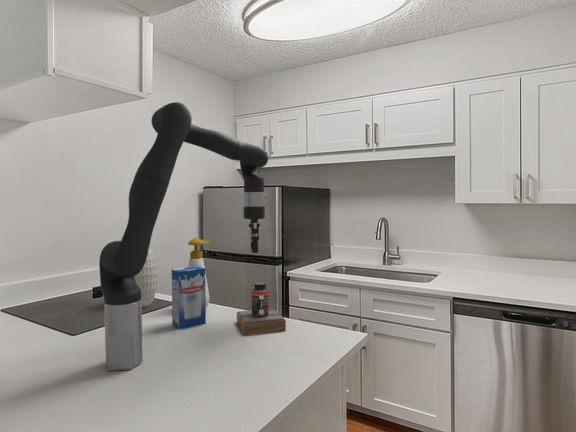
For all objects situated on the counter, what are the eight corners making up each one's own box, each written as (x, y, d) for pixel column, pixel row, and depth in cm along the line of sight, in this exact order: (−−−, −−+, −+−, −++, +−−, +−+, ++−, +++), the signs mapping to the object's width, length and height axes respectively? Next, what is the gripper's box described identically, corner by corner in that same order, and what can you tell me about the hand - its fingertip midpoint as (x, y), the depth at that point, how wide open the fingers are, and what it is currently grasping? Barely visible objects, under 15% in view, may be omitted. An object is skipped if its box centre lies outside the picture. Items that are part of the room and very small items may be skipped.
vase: (131, 311, 149) (130, 241, 148) (122, 304, 159) (121, 238, 158) (163, 305, 157) (162, 238, 156) (152, 299, 167) (151, 236, 166)
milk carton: (179, 329, 128) (178, 271, 127) (172, 325, 133) (171, 269, 132) (206, 323, 135) (205, 268, 134) (198, 319, 139) (197, 266, 139)
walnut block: (285, 330, 127) (285, 318, 127) (245, 335, 123) (245, 323, 123) (273, 318, 141) (273, 307, 140) (236, 322, 136) (236, 311, 136)
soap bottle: (219, 310, 151) (218, 238, 150) (196, 315, 144) (195, 240, 143) (201, 303, 160) (200, 236, 159) (179, 309, 153) (178, 237, 151)
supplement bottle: (266, 318, 128) (266, 285, 128) (249, 317, 129) (249, 284, 129) (270, 313, 134) (270, 281, 133) (254, 312, 135) (254, 280, 135)
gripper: (266, 205, 126) (266, 253, 126) (263, 205, 140) (263, 248, 140) (243, 205, 125) (244, 254, 125) (243, 205, 139) (243, 248, 139)
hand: (254, 251), depth 133 cm, fingers open, 8 cm apart
